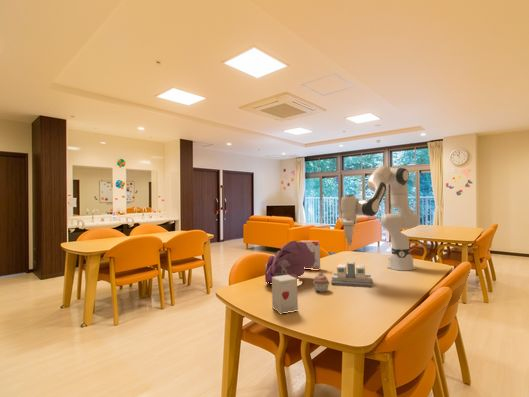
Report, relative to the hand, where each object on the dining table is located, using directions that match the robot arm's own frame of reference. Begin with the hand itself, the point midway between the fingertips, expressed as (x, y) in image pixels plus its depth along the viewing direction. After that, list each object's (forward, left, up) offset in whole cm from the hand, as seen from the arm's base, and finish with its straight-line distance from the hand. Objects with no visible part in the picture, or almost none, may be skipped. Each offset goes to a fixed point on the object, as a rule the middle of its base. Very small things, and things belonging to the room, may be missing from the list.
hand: (349, 243), depth 174 cm
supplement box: (+54, -27, -23) cm, 65 cm away
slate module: (0, 0, -21) cm, 21 cm away
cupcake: (+22, -15, -23) cm, 35 cm away
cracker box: (-26, -30, -23) cm, 46 cm away
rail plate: (0, 0, -23) cm, 23 cm away
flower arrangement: (+11, -37, -23) cm, 45 cm away
